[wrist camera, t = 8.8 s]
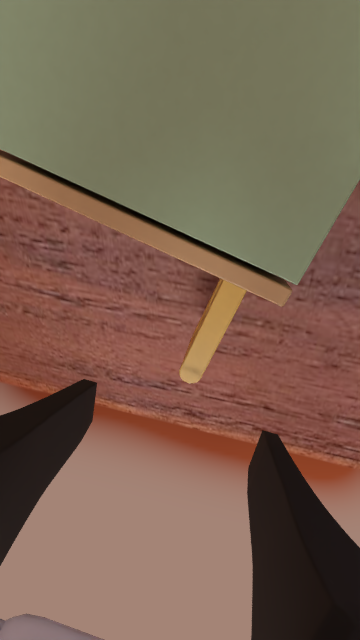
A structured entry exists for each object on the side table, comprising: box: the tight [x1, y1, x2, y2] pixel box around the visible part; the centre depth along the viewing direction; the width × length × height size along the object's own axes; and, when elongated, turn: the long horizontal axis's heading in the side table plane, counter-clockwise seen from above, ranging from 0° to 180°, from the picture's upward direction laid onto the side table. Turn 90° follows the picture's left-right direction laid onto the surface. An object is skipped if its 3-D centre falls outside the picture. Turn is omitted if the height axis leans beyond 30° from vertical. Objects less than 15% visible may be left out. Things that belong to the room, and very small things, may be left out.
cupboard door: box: [0, 150, 292, 383], centre depth 17 cm, size 7×15×8 cm, turn 67°
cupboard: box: [0, 0, 360, 285], centre depth 14 cm, size 10×15×9 cm
